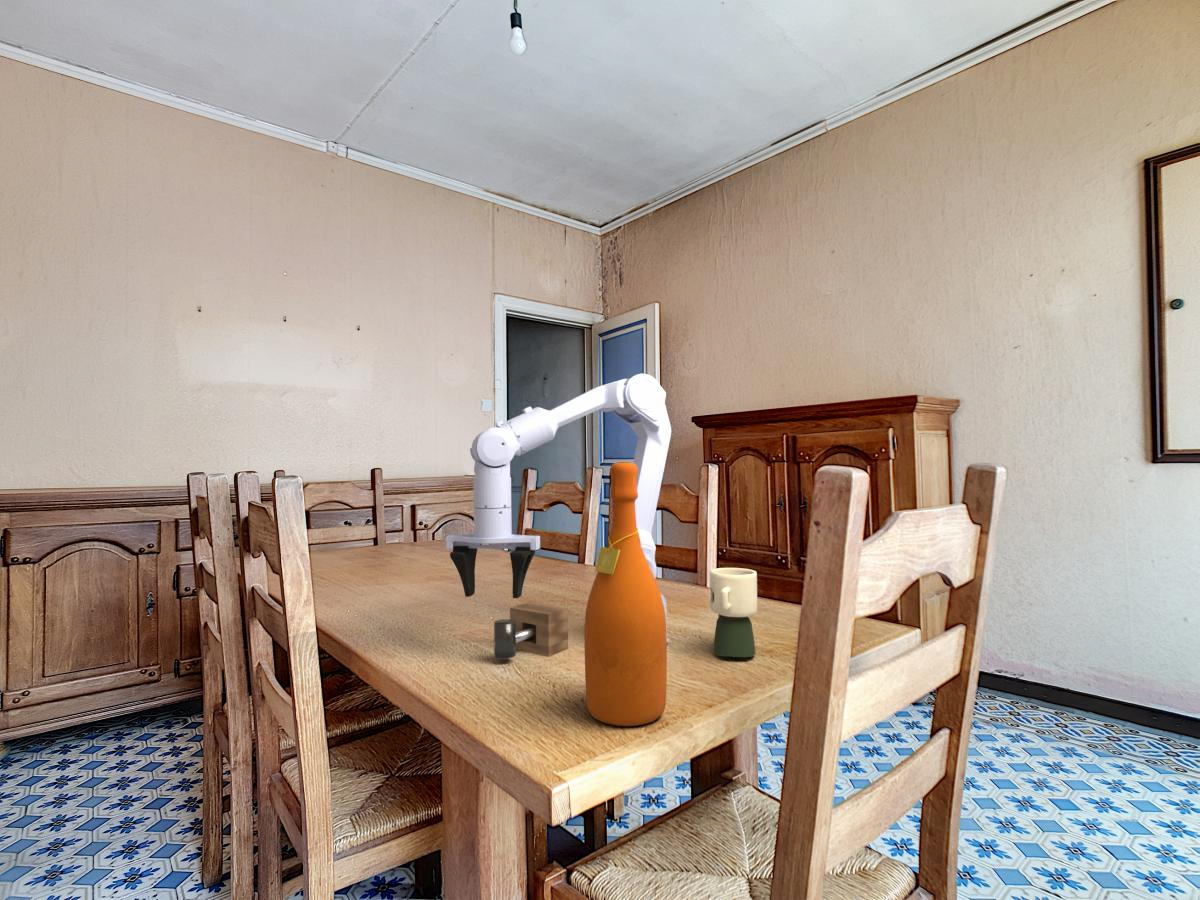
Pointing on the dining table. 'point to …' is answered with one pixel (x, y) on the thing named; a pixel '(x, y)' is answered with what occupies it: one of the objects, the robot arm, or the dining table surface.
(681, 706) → the dining table surface
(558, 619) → the eye block
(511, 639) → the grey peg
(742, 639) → the character mug
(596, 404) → the robot arm
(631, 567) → the wine bottle
